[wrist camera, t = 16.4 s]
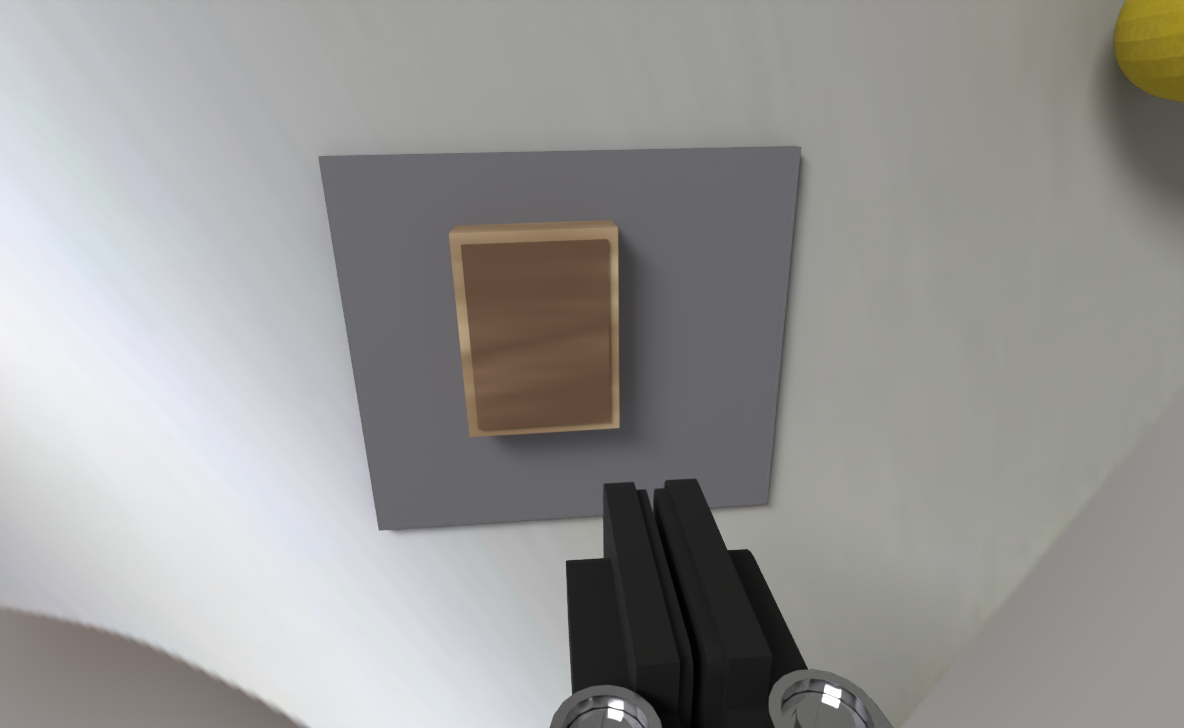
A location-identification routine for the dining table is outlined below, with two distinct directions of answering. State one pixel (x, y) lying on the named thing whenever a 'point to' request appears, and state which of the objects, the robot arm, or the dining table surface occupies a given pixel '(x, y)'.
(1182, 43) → the lemon
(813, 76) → the dining table surface
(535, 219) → the mat
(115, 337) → the dining table surface
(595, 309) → the wooden box
